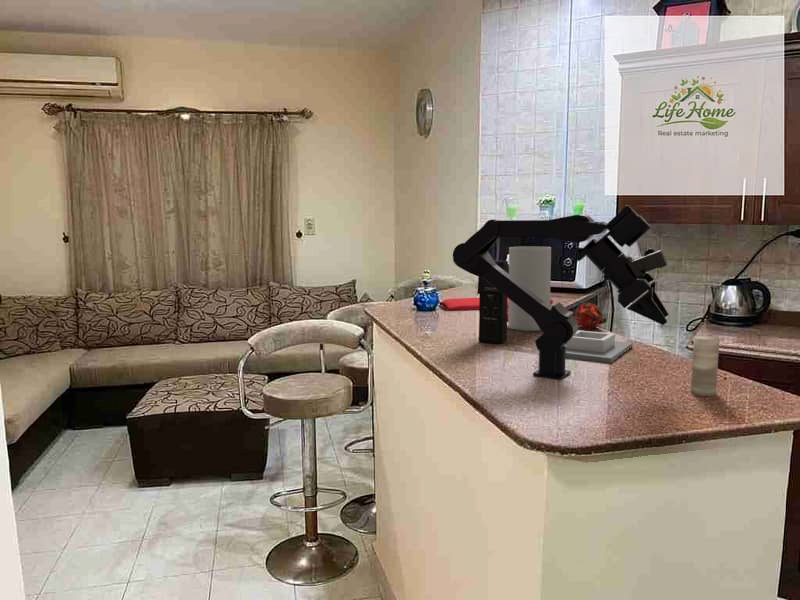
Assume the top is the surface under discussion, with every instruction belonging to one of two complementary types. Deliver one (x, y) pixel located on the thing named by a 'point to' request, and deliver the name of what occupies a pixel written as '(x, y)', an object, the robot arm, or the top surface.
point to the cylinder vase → (529, 281)
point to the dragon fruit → (589, 316)
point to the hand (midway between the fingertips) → (666, 319)
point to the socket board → (595, 346)
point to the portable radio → (492, 310)
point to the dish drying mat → (465, 304)
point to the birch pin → (705, 365)
